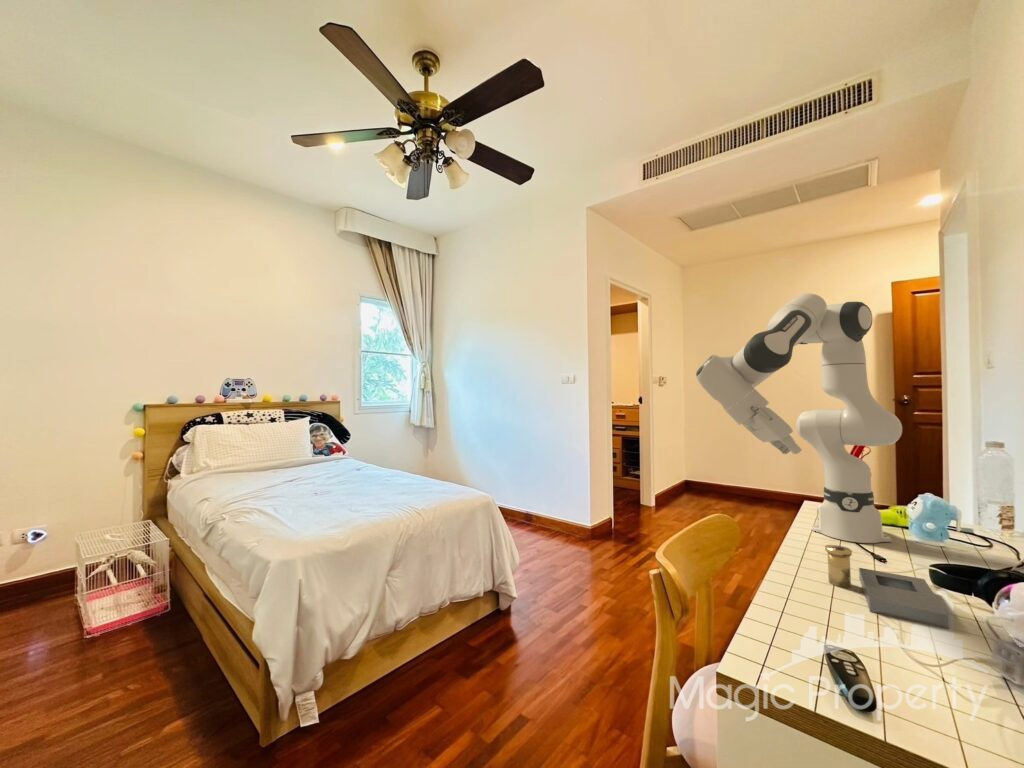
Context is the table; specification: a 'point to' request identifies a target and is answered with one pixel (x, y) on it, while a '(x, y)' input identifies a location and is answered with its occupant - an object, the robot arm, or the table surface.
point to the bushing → (839, 565)
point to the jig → (902, 597)
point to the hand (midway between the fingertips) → (792, 452)
